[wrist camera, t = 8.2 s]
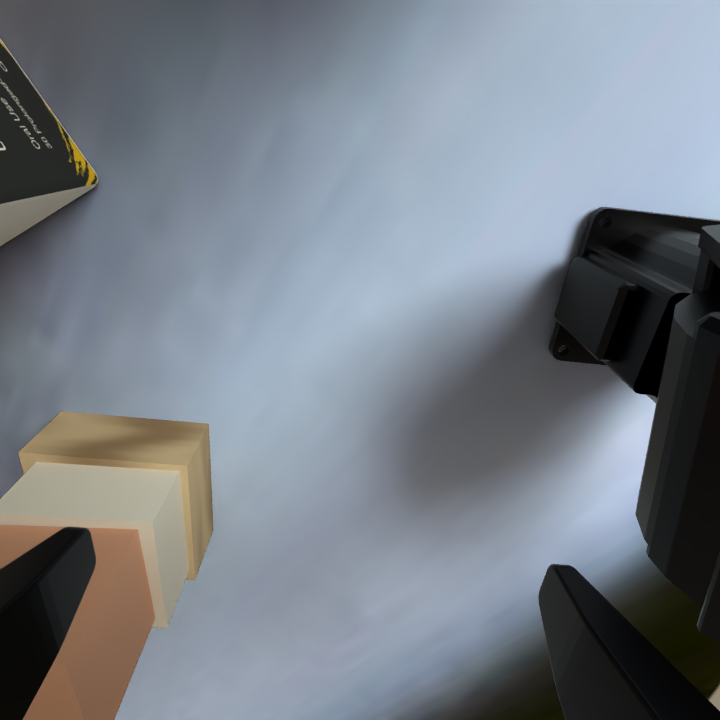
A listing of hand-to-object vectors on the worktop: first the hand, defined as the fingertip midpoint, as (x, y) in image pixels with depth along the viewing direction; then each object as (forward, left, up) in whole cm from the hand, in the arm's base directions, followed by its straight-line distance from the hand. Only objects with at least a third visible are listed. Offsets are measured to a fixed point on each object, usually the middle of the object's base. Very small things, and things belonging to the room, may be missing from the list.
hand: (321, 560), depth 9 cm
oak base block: (+9, +10, -13) cm, 19 cm away
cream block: (+9, +9, -10) cm, 16 cm away
